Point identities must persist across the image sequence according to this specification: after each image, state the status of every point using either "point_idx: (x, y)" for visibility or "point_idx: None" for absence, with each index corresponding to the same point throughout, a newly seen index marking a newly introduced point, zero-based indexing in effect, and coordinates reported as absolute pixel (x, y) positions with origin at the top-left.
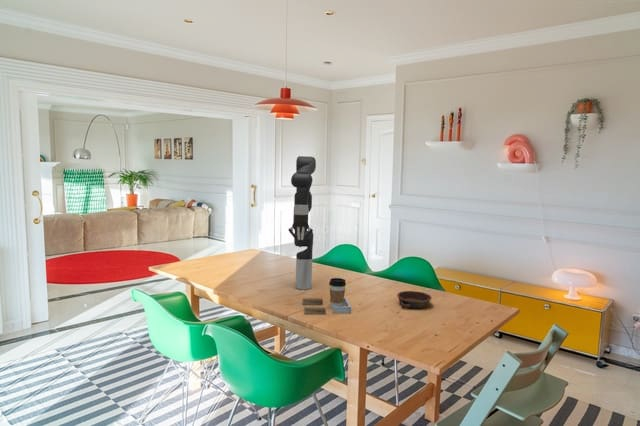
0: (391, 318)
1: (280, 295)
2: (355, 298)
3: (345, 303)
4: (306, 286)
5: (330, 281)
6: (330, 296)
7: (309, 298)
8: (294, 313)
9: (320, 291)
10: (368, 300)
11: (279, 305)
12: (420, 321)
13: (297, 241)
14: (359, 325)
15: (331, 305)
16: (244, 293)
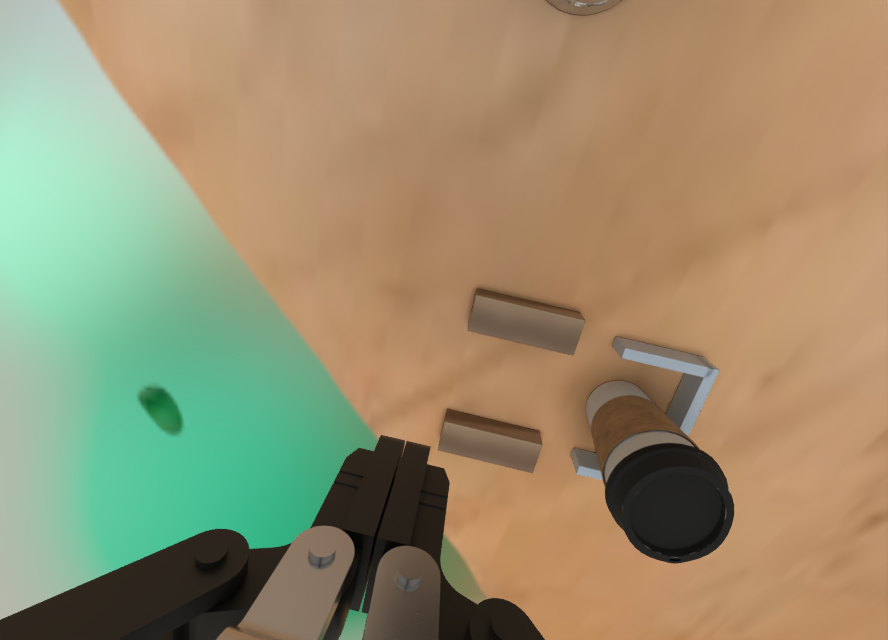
0: (786, 565)
1: (383, 122)
2: (815, 283)
3: (684, 391)
4: (595, 6)
5: (618, 503)
6: (595, 441)
7: (511, 310)
8: (399, 415)
9: (672, 83)
10: (867, 335)
11: (350, 298)
12: (881, 618)
13: (323, 505)
14: (610, 584)
15: (589, 420)
16: (166, 28)
